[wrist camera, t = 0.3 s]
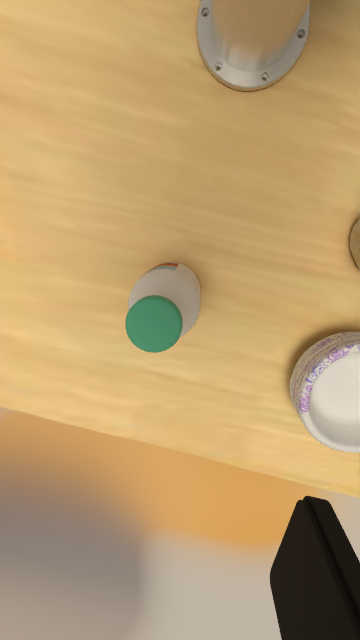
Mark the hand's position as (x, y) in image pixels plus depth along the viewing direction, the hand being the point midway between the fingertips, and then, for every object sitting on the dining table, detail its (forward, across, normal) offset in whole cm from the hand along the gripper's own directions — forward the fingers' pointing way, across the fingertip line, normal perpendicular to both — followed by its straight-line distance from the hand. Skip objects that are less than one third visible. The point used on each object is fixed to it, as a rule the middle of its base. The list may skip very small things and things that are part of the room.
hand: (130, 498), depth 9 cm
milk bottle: (+37, +2, 0) cm, 37 cm away
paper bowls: (+37, -24, +7) cm, 45 cm away
